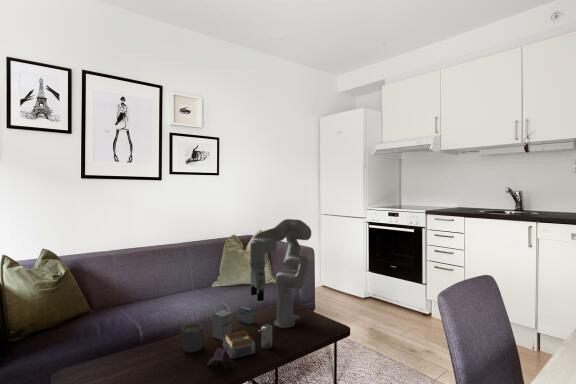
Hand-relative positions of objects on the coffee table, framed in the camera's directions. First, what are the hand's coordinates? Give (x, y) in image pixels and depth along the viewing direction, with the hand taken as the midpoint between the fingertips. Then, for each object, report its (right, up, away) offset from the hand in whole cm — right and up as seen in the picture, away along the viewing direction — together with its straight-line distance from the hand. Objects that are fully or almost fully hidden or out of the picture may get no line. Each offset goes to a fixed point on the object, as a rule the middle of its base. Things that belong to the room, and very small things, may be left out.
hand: (257, 297), depth 168 cm
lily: (-15, -25, -20) cm, 35 cm away
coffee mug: (-33, -24, -2) cm, 41 cm away
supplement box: (-20, -24, +10) cm, 33 cm away
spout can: (+4, -24, -1) cm, 25 cm away
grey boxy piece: (-9, -24, -5) cm, 26 cm away
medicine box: (-10, -24, +29) cm, 39 cm away
